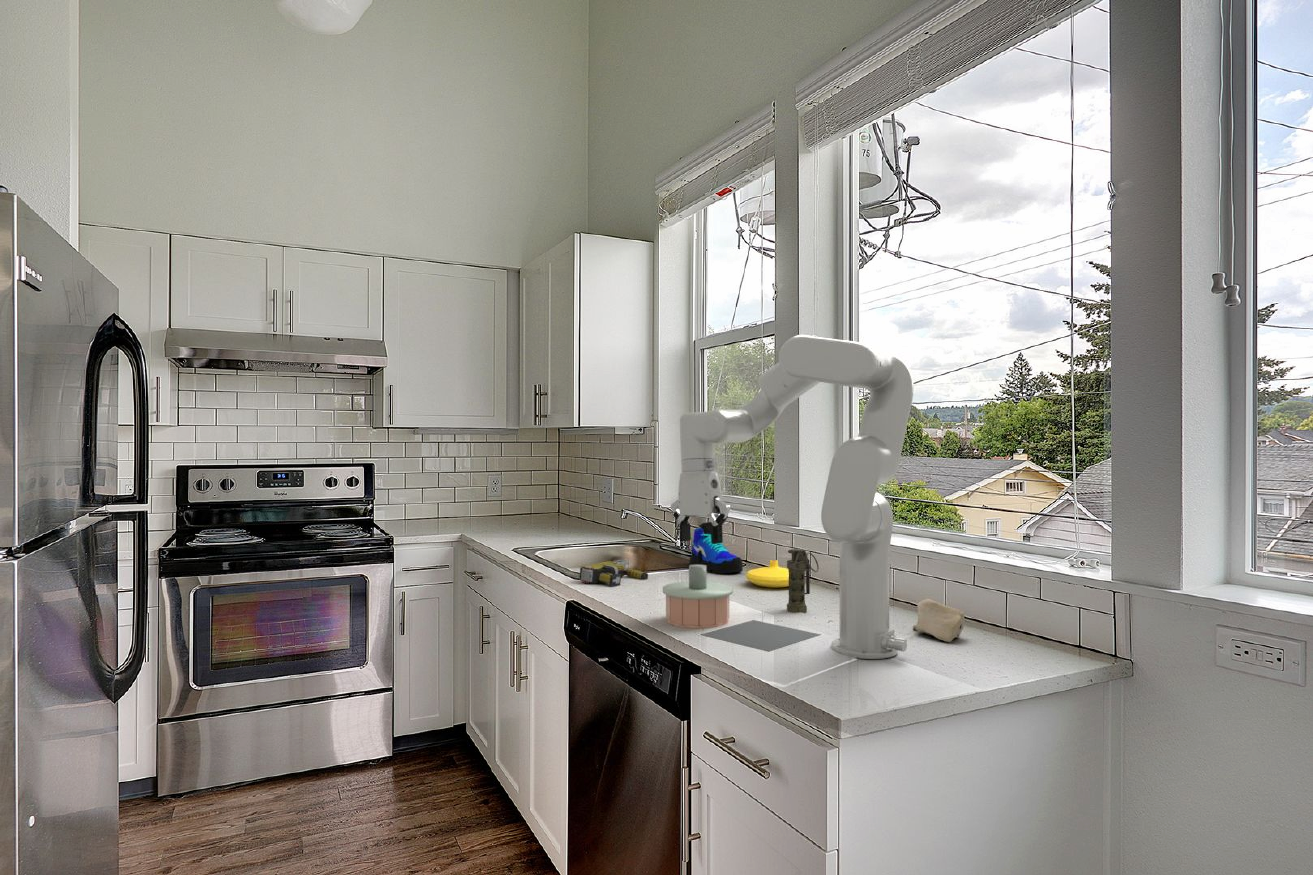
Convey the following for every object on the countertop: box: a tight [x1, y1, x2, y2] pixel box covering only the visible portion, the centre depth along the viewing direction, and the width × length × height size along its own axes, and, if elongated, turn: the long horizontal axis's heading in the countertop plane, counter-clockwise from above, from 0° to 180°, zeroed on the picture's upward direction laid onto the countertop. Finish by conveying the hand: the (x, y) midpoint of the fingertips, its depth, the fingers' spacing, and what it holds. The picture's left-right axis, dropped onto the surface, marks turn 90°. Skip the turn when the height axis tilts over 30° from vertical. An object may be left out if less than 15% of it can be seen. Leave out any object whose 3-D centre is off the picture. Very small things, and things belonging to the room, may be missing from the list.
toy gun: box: [578, 559, 649, 587], centre depth 231 cm, size 5×24×15 cm
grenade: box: [786, 548, 820, 614], centre depth 187 cm, size 9×6×15 cm, turn 118°
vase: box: [745, 559, 789, 589], centre depth 220 cm, size 16×16×7 cm
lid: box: [662, 564, 734, 599], centre depth 177 cm, size 16×16×6 cm
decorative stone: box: [912, 598, 965, 643], centre depth 166 cm, size 7×13×7 cm, turn 31°
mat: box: [699, 619, 822, 652], centre depth 165 cm, size 18×18×1 cm
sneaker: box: [688, 521, 744, 575], centre depth 245 cm, size 9×24×15 cm, turn 28°
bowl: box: [665, 594, 730, 629], centre depth 177 cm, size 14×14×7 cm
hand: (700, 542), depth 177 cm, fingers open, 9 cm apart
